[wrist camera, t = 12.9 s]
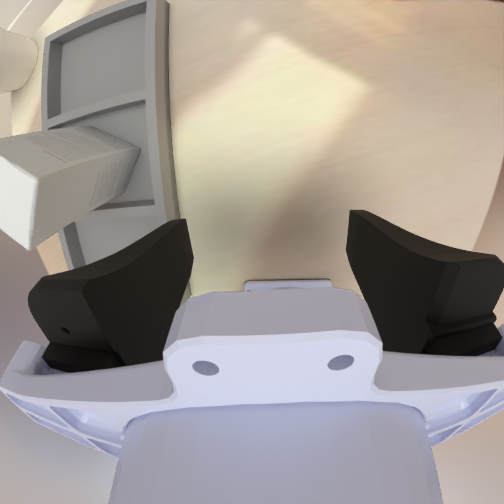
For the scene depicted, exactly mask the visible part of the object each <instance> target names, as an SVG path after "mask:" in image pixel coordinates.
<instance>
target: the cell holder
mask: <svg viewBox="0 0 504 504" xmlns="http://www.w3.org/2000/svg"><path fill="white" fill-rule="evenodd" d="M168 30H169V3H168V2H167V1H166V0H126V1H123V2H121V3H118V4H115V5H113V6H110V7H107V8H105V9H102V10H100V11H98V12H95V13H93V14H91V15H88V16H86V17H84V18H82V19H80V20H78V21H76V22H74V23H72V24H70V25H68V26H66V27H64V28H62V29H60V30H58V31H57V32H55V33H53V34H51V35H49V36H48V37H46V38H45V45H44V54H43V67H42V90H41V109H42V131H46V130H52V129H60V128H68V127H78V126H91V127H93V128H96V129H98V130H100V131H102V132H105V133H107V134H109V135H112V136H114V137H116V138H118V139H121V140H123V141H125V142H127V143H129V144H132V145H134V146H136V147H138V148H140V152H139V154H138V157H137V159H136V162H135V164H134V167H133V170H132V172H131V175H130V178H129V181H128V184H127V187H126V190H125V191H124V193H122V194H120V195H118V196H116V197H115V198H113V199H111V200H109V201H107V202H106V203H104V204H102V205H100V206H99V207H97V208H95V209H94V210H92V211H90V212H88V213H87V214H85V215H83V216H82V217H80V218H78V219H77V220H75V221H74V222H72V223H70V224H69V225H67V226H66V227H64V228H63V229H61V230H60V231H58V234H59V237H60V241H61V245H62V249H63V252H64V256H65V259H66V262H67V266H68V269H69V270H73V269H76V268H79V267H82V266H85V265H88V264H91V263H93V262H95V261H98V260H100V259H103V258H105V257H108V256H110V255H112V254H114V253H116V252H118V251H120V250H122V249H124V248H125V247H127V246H129V245H131V244H132V243H134V242H136V241H137V240H139V239H140V238H142V237H144V236H145V235H147V234H149V233H150V232H152V231H153V230H155V229H156V228H158V227H160V226H161V225H163V224H165V223H166V222H168V221H170V220H174V219H180V217H179V209H178V201H177V192H176V182H175V172H174V161H173V149H172V136H171V120H170V101H169V69H168ZM190 295H191V291H190V285H189V281H188V284H187V287H186V290H185V292H184V295H183V298H182V301H181V304H180V307H181V306H182V305H183V304H184V303H185V301H186V300H187V299H188V298H190ZM180 307H179V308H180Z"/></svg>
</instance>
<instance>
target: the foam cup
mask: <svg viewBox="0 0 504 504" xmlns="http://www.w3.org/2000/svg"><path fill="white" fill-rule="evenodd" d="M37 57H38V46H37V43H36V42H35V41H33V40H31V39H28V38H26V37H23V36H21V35H18V34H16V33H13V32H10V31H7V30H4V29H2V28H0V93H4V92H9V91H13V90H17V89H20V88H21V87H22V86H23V85H24V84H25V83H26V82H27V81H28V79H29V77H30V76H31V74H32V72H33V70H34V67H35V64H36V62H37Z"/></svg>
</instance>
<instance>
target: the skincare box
mask: <svg viewBox="0 0 504 504" xmlns="http://www.w3.org/2000/svg"><path fill="white" fill-rule="evenodd" d="M139 152H140V148H138V147H136V146H134V145H132V144H129V143H127V142H125V141H123V140H121V139H118V138H116V137H114V136H112V135H109V134H107V133H105V132H102V131H100V130H98V129H96V128H93V127H91V126H78V127H68V128H60V129H52V130H46V131H39V132H32V133H27V134H21V135H16V136H11V137H6V138H1V139H0V229H1V230H2V231H4V232H5V233H6V234H8V235H9V236H10V237H11V238H13V239H14V240H15V241H17V242H18V243H19V244H21V245H22V246H24V247H25V248H26V249H27V250H29V251H30V250H32V249H33V248H35V247H36V246H37V245H39V244H40V243H42V242H43V241H45V240H46V239H47V238H49V237H50V236H52V235H53V234H55V233H56V232H58V231H60V230H61V229H63V228H64V227H66V226H67V225H69V224H70V223H72V222H74V221H75V220H77V219H78V218H80V217H82V216H83V215H85V214H87V213H88V212H90V211H92V210H94V209H95V208H97V207H99V206H100V205H102V204H104V203H106V202H107V201H109V200H111V199H113V198H115V197H116V196H118V195H120V194H122V193H124V191H125V190H126V187H127V184H128V181H129V178H130V175H131V172H132V170H133V167H134V164H135V162H136V159H137V157H138V154H139Z"/></svg>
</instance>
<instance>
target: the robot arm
mask: <svg viewBox="0 0 504 504" xmlns="http://www.w3.org/2000/svg"><path fill="white" fill-rule="evenodd" d="M346 252H347V256H348V260H349V263H350V266H351V269H352V271H353V274H354V276H355V278H356V281H357V283H358V285H359V287H360V289H361V292H362V294H363V296H364V299H365V301H366V302H365V301H364V300H363V299H362V298H361V297H360V296H359V295H357V294H356V293H355V292H354V291H353V290H346V289H340V288H333V287H332V283H331V281H330V280H287V281H247V282H245V284H244V291H238V292H212V293H207V294H203V295H199V296H195V297H191V298H188V299H187V300H186V301H185V303H184V304H183V305H182V306H181V307H180V304H181V301H182V298H183V295H184V292H185V290H186V287H187V284H188V281H189V278H190V275H191V270H192V265H193V259H194V256H193V252H192V247H191V242H190V237H189V233H188V228H187V223H186V219H174V220H170V221H168V222H166V223H165V224H163V225H161V226H160V227H158V228H156V229H155V230H153V231H152V232H150V233H149V234H147V235H145V236H144V237H142V238H140V239H139V240H137V241H136V242H134V243H132V244H131V245H129V246H127V247H125V248H124V249H122V250H120V251H118V252H116V253H114V254H112V255H110V256H108V257H105V258H103V259H100V260H98V261H95V262H93V263H91V264H88V265H85V266H82V267H79V268H76V269H73V270H69V271H66V272H61V273H57V274H53V275H49V276H44V277H42V278H41V279H40V281H38V283H37V284H36V285H35V286H34V287H33V289H32V290H31V291H30V293H29V296H28V305H29V308H30V311H31V313H32V315H33V317H34V319H35V321H36V322H37V324H38V325H39V327H40V328H41V330H42V331H43V333H44V334H45V336H46V337H47V339H48V340H49V342H50V343H49V345H48V347H47V348H45V347H44V346H43V345H41V344H38V343H34V342H30V341H26V340H25V341H23V342H22V344H21V345H20V347H19V349H18V350H17V352H16V353H15V355H14V357H13V358H12V360H11V362H10V363H9V365H8V367H7V369H6V371H5V373H4V374H3V376H2V378H1V380H0V390H1V391H2V392H3V393H4V394H5V395H6V396H7V397H8V398H9V399H10V400H11V401H12V402H13V403H14V404H15V405H17V406H18V407H19V408H20V409H21V410H22V411H23V412H25V414H27V415H28V416H29V417H30V418H31V419H33V420H34V421H35V422H37V423H39V424H41V425H43V426H45V427H47V428H49V429H51V430H53V431H55V432H57V433H59V434H62V435H64V436H66V437H68V438H70V439H73V440H74V441H77V442H79V443H82V444H84V445H86V446H88V447H91V448H93V449H96V450H98V451H101V452H103V453H106V454H109V455H111V456H114V457H117V458H119V460H118V464H117V468H116V472H115V476H114V480H113V485H112V489H111V494H110V499H109V504H443V501H442V495H441V489H440V484H439V479H438V475H437V470H436V465H435V461H434V458H433V453H432V449H431V447H433V446H435V445H437V444H440V443H442V442H444V441H446V440H448V439H450V438H452V437H454V436H456V435H458V434H460V433H462V432H463V431H466V430H468V429H470V428H471V427H473V426H475V425H477V424H478V423H480V422H482V421H484V420H486V419H487V418H489V417H491V416H493V415H494V414H496V413H498V412H499V411H501V410H503V409H504V324H503V325H501V326H500V327H499V328H498V329H497V328H496V326H495V325H494V323H493V322H495V321H496V316H495V314H494V313H493V309H494V308H495V305H496V304H497V301H498V300H499V297H500V295H501V293H502V291H503V288H504V263H503V262H502V261H501V260H500V259H499V258H498V257H497V256H496V255H492V254H484V253H478V252H471V251H466V250H461V249H457V248H453V247H449V246H446V245H442V244H439V243H436V242H433V241H430V240H428V239H425V238H422V237H420V236H417V235H415V234H413V233H410V232H408V231H406V230H404V229H402V228H400V227H398V226H396V225H394V224H392V223H390V222H388V221H386V220H384V219H382V218H380V217H379V216H377V215H375V214H372V213H370V212H368V211H365V210H350V214H349V226H348V236H347V245H346ZM248 290H251V291H248ZM179 307H180V308H179Z"/></svg>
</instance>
